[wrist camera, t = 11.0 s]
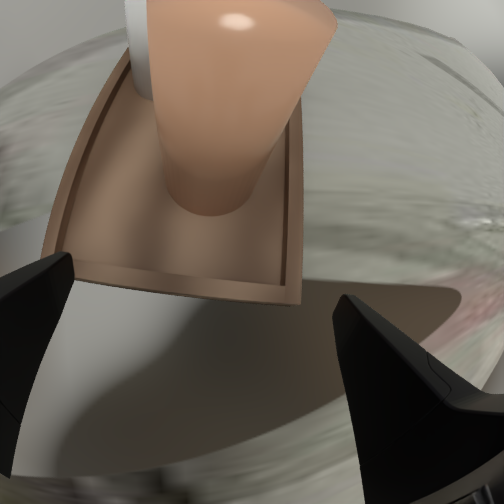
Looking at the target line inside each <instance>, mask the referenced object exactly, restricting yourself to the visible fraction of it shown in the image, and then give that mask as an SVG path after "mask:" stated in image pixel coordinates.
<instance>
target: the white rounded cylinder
mask: <svg viewBox="0 0 504 504" xmlns="http://www.w3.org/2000/svg"><path fill="white" fill-rule="evenodd" d="M125 14H126V26H127V36H128V45H129V53H130V61H131V69H132V76H133V82H134V88H135V90H136V92H137V93H138V94H139V95H140V96H141V97H143V98H145V99H148V100H151V101H153V94H152V84H151V74H150V63H149V50H148V34H147V10H146V0H125Z"/></svg>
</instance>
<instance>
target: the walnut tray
mask: <svg viewBox="0 0 504 504" xmlns="http://www.w3.org/2000/svg"><path fill="white" fill-rule="evenodd" d="M59 251H63V252H68V253H70V254H71V255H72V258H73V265H74V272H75V279H74V280H77V281H83V282H88V283H95V284H101V285H106V286H112V287H119V288H125V289H132V290H139V291H146V292H153V293H160V294H168V295H176V296H184V297H193V298H202V299H211V300H221V301H230V302H241V303H252V304H265V305H277V306H295V305H300V304H301V288H302V286H301V285H302V261H303V135H302V109H301V97H300V99H299V101H298V103H297V105H296V106H295V108H294V110H293V112H292V114H291V116H290V118H289V120H288V122H287V124H286V126H285V128H284V130H283V132H282V134H281V136H280V138H279V140H278V142H277V144H276V146H275V148H274V150H273V152H272V154H271V155H270V157H269V160H268V162H267V164H266V166H265V168H264V170H263V172H262V174H261V176H260V178H259V180H258V182H257V184H256V186H255V188H254V190H253V192H252V194H251V196H250V197H249V199H248V200H247V201H246V202H245V203H244V204H243V205H242V206H241V207H239V208H238V209H236V210H235V211H233V212H231V213H228V214H225V215H220V216H201V215H197V214H194V213H191V212H189V211H187V210H185V209H183V208H182V207H181V206H179V205H178V204H177V203H176V202H175V201H174V200H173V198H172V197H171V196H170V194H169V192H168V190H167V187H166V182H165V177H164V171H163V165H162V159H161V153H160V147H159V140H158V133H157V126H156V118H155V111H154V102H153V101H151V100H148V99H145V98H143V97H141V96H140V95H139V94H138V93H137V92H136V90H135V88H134V82H133V76H132V69H131V61H130V53H129V47H128V48H127V50H126V51H125V53H124V54H123V56H122V57H121V59H120V60H119V62H118V63H117V65H116V66H115V68H114V70H113V71H112V73H111V75H110V76H109V78H108V80H107V81H106V83H105V85H104V87H103V88H102V90H101V92H100V94H99V96H98V97H97V99H96V101H95V103H94V105H93V107H92V109H91V111H90V113H89V115H88V117H87V119H86V121H85V123H84V125H83V127H82V130H81V132H80V134H79V136H78V138H77V141H76V143H75V145H74V148H73V150H72V153H71V155H70V158H69V160H68V163H67V166H66V168H65V171H64V174H63V177H62V179H61V182H60V185H59V188H58V191H57V195H56V198H55V201H54V204H53V208H52V211H51V215H50V219H49V223H48V226H47V230H46V235H45V239H44V243H43V248H42V253H41V258H40V259H42V258H45V257H47V256H49V255H52V254H54V253H57V252H59Z"/></svg>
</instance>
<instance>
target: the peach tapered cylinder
mask: <svg viewBox="0 0 504 504" xmlns="http://www.w3.org/2000/svg"><path fill="white" fill-rule="evenodd" d="M146 10H147V34H148V50H149V63H150V74H151V84H152V94H153V102H154V111H155V118H156V126H157V133H158V140H159V147H160V153H161V159H162V165H163V171H164V177H165V182H166V187H167V190H168V192H169V194H170V196H171V197H172V198H173V200H174V201H175V202H176V203H177V204H178V205H179V206H181V207H182V208H183V209H185V210H187V211H189V212H191V213H194V214H197V215H201V216H220V215H225V214H228V213H231V212H233V211H235V210H236V209H238V208H239V207H241V206H242V205H243V204H244V203H245V202H246V201H247V200H248V199H249V197H250V196H251V194H252V192H253V190H254V188H255V186H256V184H257V182H258V180H259V178H260V176H261V174H262V172H263V170H264V168H265V166H266V164H267V162H268V160H269V157H270V155H271V154H272V152H273V150H274V148H275V146H276V144H277V142H278V140H279V138H280V136H281V134H282V132H283V130H284V128H285V126H286V124H287V122H288V120H289V118H290V116H291V114H292V112H293V110H294V108H295V106H296V105H297V103H298V101H299V99H300V97H301V95H302V93H303V91H304V89H305V87H306V85H307V84H308V82H309V80H310V78H311V76H312V74H313V72H314V70H315V69H316V67H317V65H318V63H319V61H320V59H321V57H322V56H323V54H324V52H325V50H326V48H327V46H328V45H329V43H330V41H331V39H332V37H333V36H334V34H335V32H336V30H337V25H338V23H337V20H336V18H335V16H334V14H333V13H332V11H331V10H330V9H329V8H328V7H327V6H326V5H325V4H324V3H322V2H321V1H320V0H146Z"/></svg>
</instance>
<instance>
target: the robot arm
mask: <svg viewBox="0 0 504 504" xmlns="http://www.w3.org/2000/svg"><path fill="white" fill-rule="evenodd" d="M74 279H75V272H74V265H73V258H72V255H71V254H70V253H68V252H63V251H59V252H57V253H54V254H52V255H49V256H47V257H45V258H42V259H40V260H38V261H35V262H33V263H31V264H29V265H26V266H24V267H22V268H20V269H18V270H15V271H13V272H11V273H9V274H6V275H5V276H2V277H0V473H1V474H2V475H4V476H6V477H7V478H9V479H10V476H11V471H12V465H13V459H14V454H15V449H16V444H17V439H18V435H19V431H20V427H21V422H22V419H23V415H24V412H25V408H26V405H27V402H28V398H29V395H30V392H31V389H32V386H33V383H34V380H35V377H36V374H37V372H38V369H39V366H40V364H41V361H42V358H43V356H44V354H45V351H46V349H47V346H48V344H49V342H50V339H51V337H52V335H53V333H54V330H55V328H56V326H57V324H58V321H59V319H60V317H61V314H62V312H63V309H64V306H65V303H66V301H67V298H68V295H69V293H70V290H71V288H72V285H73V283H74ZM332 319H333V327H334V335H335V342H336V349H337V356H338V361H339V365H340V370H341V374H342V378H343V383H344V387H345V392H346V396H347V401H348V406H349V411H350V416H351V421H352V426H353V431H354V436H355V441H356V447H357V453H358V458H359V464H360V472H361V478H362V485H363V492H364V499H365V504H504V394H489V393H485V392H483V391H481V390H479V389H478V388H476V387H475V386H473V385H472V384H471V383H469V382H468V381H466V380H465V379H463V378H462V377H461V376H459V375H458V374H456V373H455V372H454V371H452V370H451V369H449V368H448V367H447V366H445V365H444V364H443V363H441V362H440V361H439V360H438V359H436V358H435V357H434V356H432V355H431V354H430V353H429V352H426V350H425V349H424V348H422V347H421V346H420V345H419V344H417V343H416V342H414V341H413V340H412V339H411V338H410V337H408V336H407V335H406V334H404V333H403V332H402V331H401V330H399V329H398V328H397V327H395V326H394V325H393V324H391V323H390V322H389V321H388V320H386V319H385V318H384V317H382V316H381V315H380V314H379V313H377V312H376V311H375V310H373V309H372V308H371V307H369V306H368V305H367V304H365V303H364V302H363V301H361V300H360V299H359V298H357V297H356V296H354V295H350V294H343V295H342V296H341V297H340V299H339V301H338V304H337V306H336V308H335V310H334V312H333V316H332Z"/></svg>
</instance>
